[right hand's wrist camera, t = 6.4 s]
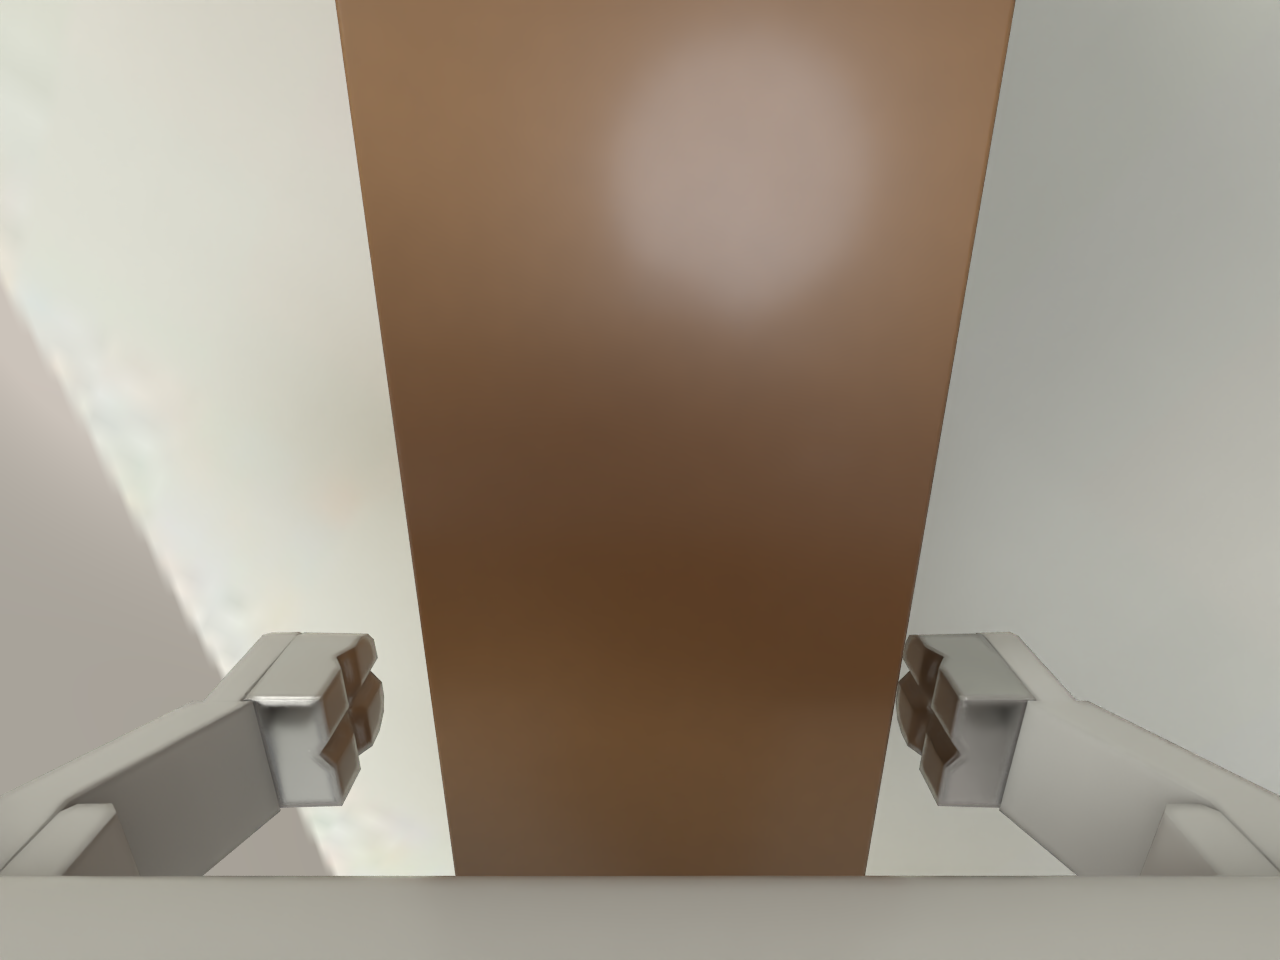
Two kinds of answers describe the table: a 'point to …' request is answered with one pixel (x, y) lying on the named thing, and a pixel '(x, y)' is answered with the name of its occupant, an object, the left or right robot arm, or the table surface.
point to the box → (668, 401)
